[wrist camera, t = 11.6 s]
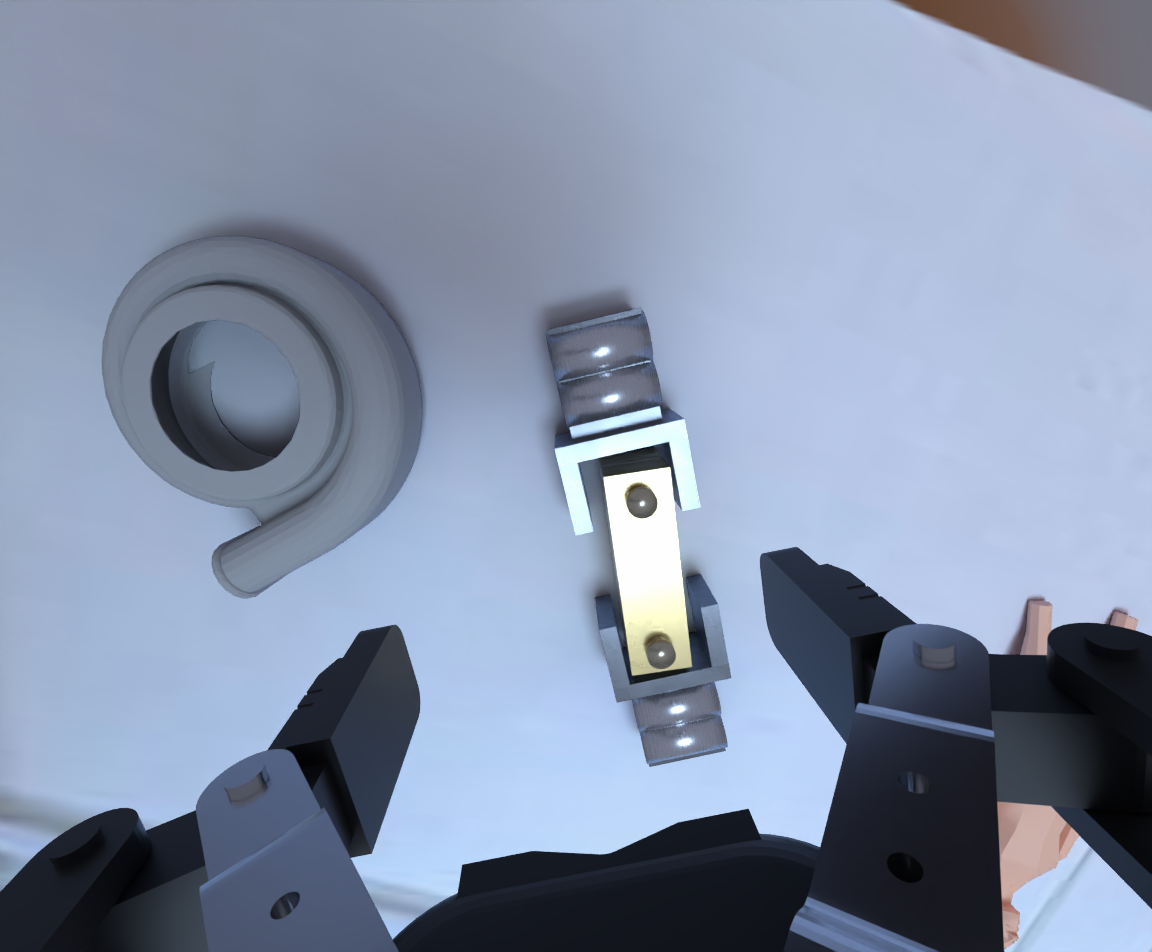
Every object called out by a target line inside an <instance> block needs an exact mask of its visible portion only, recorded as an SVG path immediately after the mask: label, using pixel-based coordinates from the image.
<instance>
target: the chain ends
mask: <svg viewBox="0 0 1152 952" xmlns="http://www.w3.org/2000/svg"><path fill="white" fill-rule="evenodd" d="M546 331H547V332H546V333H545V334H546V339H547V344H548V349H549V353H550V357H551V362H552V366H553V370H554V374H555V378H556V381H557V386H558V390H559V395H560V399H561V404H562V408H563V412H564V416H565V420H566V424H567V428H568V429H570V432H567V433H563V434H559V435H555V453H556V457H557V461H558V465H559V469H560V473H561V477H562V481H563V485H564V489H565V494H566V498H567V502H568V506H569V510H570V514H571V518H572V522H573V526H574V530H575V534H576V535H581V534H585V533H589V532H594V531H593V525H592V519H591V513H590V507H589V503H588V499H587V495H586V490H585V486H584V482H583V478H582V473H581V469H580V465H579V462H583V461H587V460H591V459H596V458H600V457H604V456H609V455H613V454H617V453H622V452H626V451H630V450H635V449H639V448H643V447H648V446H652V445H656V444H660V449H661V454H662V458H663V459H664V460H665V462H666V463H667V464H668V465H669V467H670V471H671V480H672V489H673V498H674V500H675V501H676V502H677V504H678V505H679V507H680V508H681V510H682V511H687V510H691V509H696V508H700V502H699V496H698V491H697V485H696V480H695V474H694V469H693V463H692V458H691V452H690V447H689V441H688V436H687V430H686V424H685V419H684V418H682V417H681V416H680V415H678V414H677V413H675V412H674V411H673V410H671V409H666V410H662V411H661V410H660V408H661V406H662V398H661V390H660V384H659V380H658V375H657V371H656V368H655V365H654V362H653V350H652V343H651V337H650V332H649V327H648V324H647V320H646V317H645V314H644V312H643V310H641V308H637V309H633V310H629V311H625V312H621V313H616V314H612V315H608V316H604V317H600V318H595V319H591V320H587V321H583V322H579V323H575V324H570V325H566V326H562V327H558V328H554V329H549V330H546ZM686 582H687V587H688V592H689V598H690V603H691V608H692V613H693V618H694V623H695V628H696V632H692V633H688V634H689V643H690V652H691V661H692V667H688V668H681V669H674V670H667V671H661V672H654V673H647V674H641V675H634V676H632V673H631V668H630V663H629V658H628V654H627V649H626V647H624V648H623V647H622V643H621V639H620V635H619V630H618V626H617V622H616V618H615V613H614V609H613V605H612V601H611V596H610V595H606V596H601V597H597V598H595V602H596V610H597V618H598V625H599V632H600V636H601V640H602V644H603V648H604V652H605V656H606V660H607V664H608V668H609V672H610V677H611V681H612V685H613V689H614V693H615V697H616V701H617V702H622V701H626V700H631V699H632V702H633V706H634V711H635V715H636V720H637V724H638V728H639V732H640V736H641V740H642V745H643V749H644V753H645V758H646V762H647V764H649V767H651V766H656V765H661V764H666V763H670V762H675V761H680V760H685V759H689V758H694V757H699V756H704V755H708V754H713V753H718V752H723V751H726V750H725V748H727V747H728V745H727V738H726V734H725V730H724V726H723V722H722V719H721V716H720V715H721V707H720V702H719V697H718V693H717V690H716V686H715V683H714V682H715V681H719V680H724V679H729V678H731V674H730V668H729V663H728V657H727V652H726V646H725V640H724V635H723V629H722V624H721V618H720V613H719V607H718V603H717V602H716V600H715V598H714V596H713V595H712V593H711V591H710V589H709V588H708V586H707V584H706V583H705V581H704V579H703V577H702V576H701V575H696V576H692V577H687V578H686Z"/></svg>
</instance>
